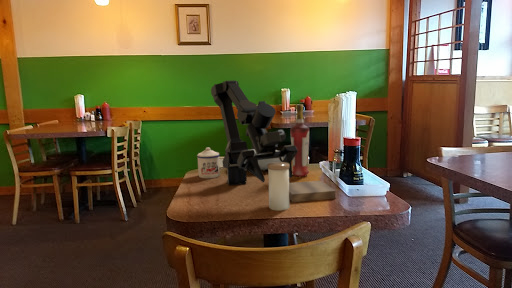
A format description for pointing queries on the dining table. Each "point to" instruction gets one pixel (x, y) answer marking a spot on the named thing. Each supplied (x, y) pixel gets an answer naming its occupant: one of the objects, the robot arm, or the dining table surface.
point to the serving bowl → (266, 162)
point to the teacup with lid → (209, 164)
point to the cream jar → (278, 185)
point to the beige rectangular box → (310, 191)
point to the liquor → (300, 144)
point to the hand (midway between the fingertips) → (277, 179)
